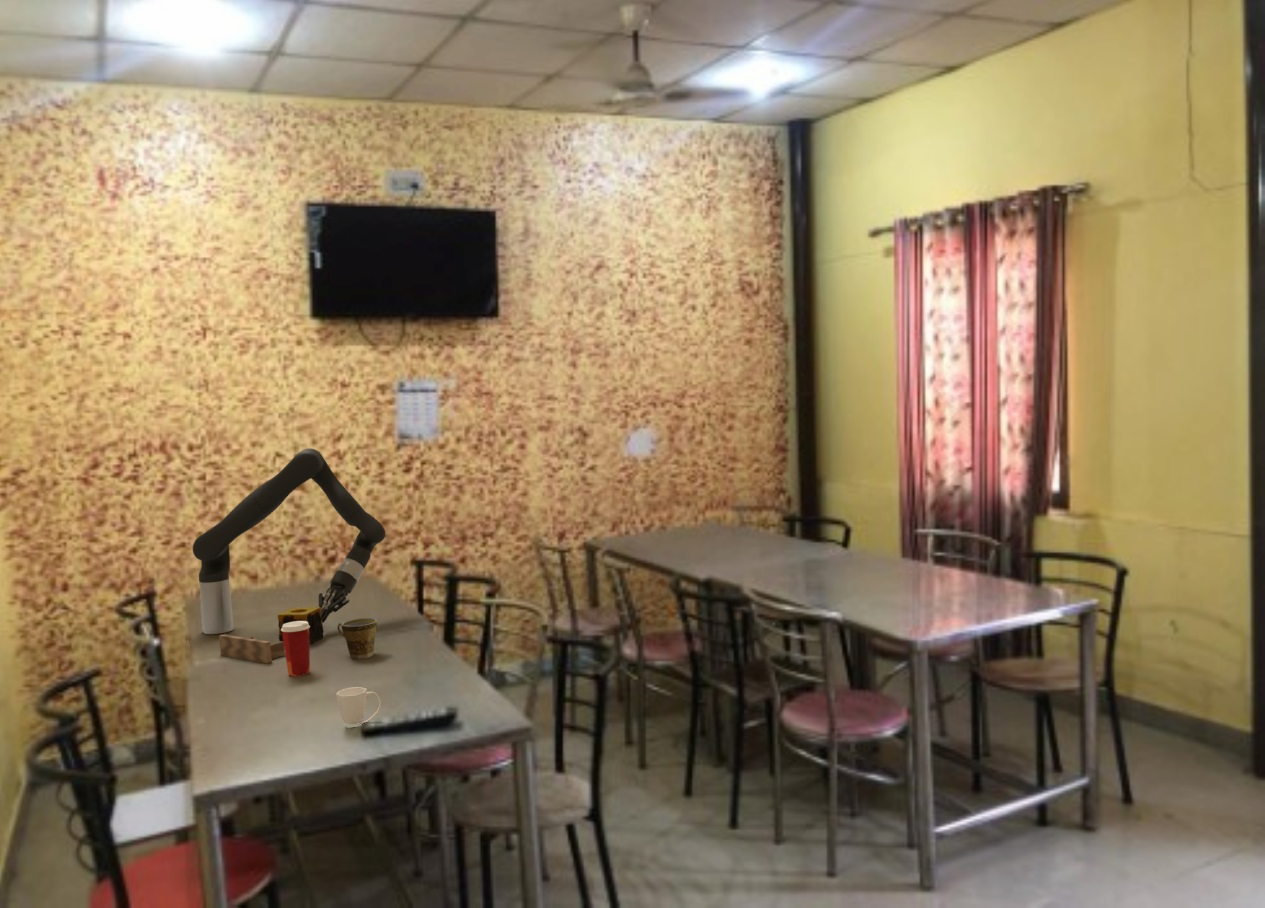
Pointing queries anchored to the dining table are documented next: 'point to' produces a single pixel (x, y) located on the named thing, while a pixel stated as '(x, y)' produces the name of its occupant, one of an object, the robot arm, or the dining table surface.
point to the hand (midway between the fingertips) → (319, 621)
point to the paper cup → (297, 647)
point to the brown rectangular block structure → (250, 648)
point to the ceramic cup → (359, 636)
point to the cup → (354, 704)
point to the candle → (303, 614)
